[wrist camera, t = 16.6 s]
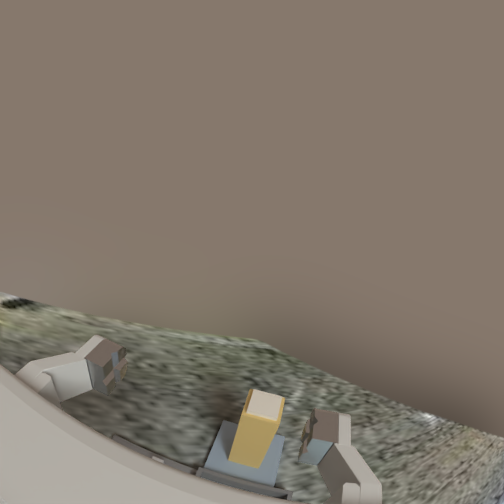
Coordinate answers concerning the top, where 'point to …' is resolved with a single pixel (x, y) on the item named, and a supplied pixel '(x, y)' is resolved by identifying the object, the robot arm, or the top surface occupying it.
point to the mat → (221, 464)
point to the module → (256, 428)
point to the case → (210, 473)
